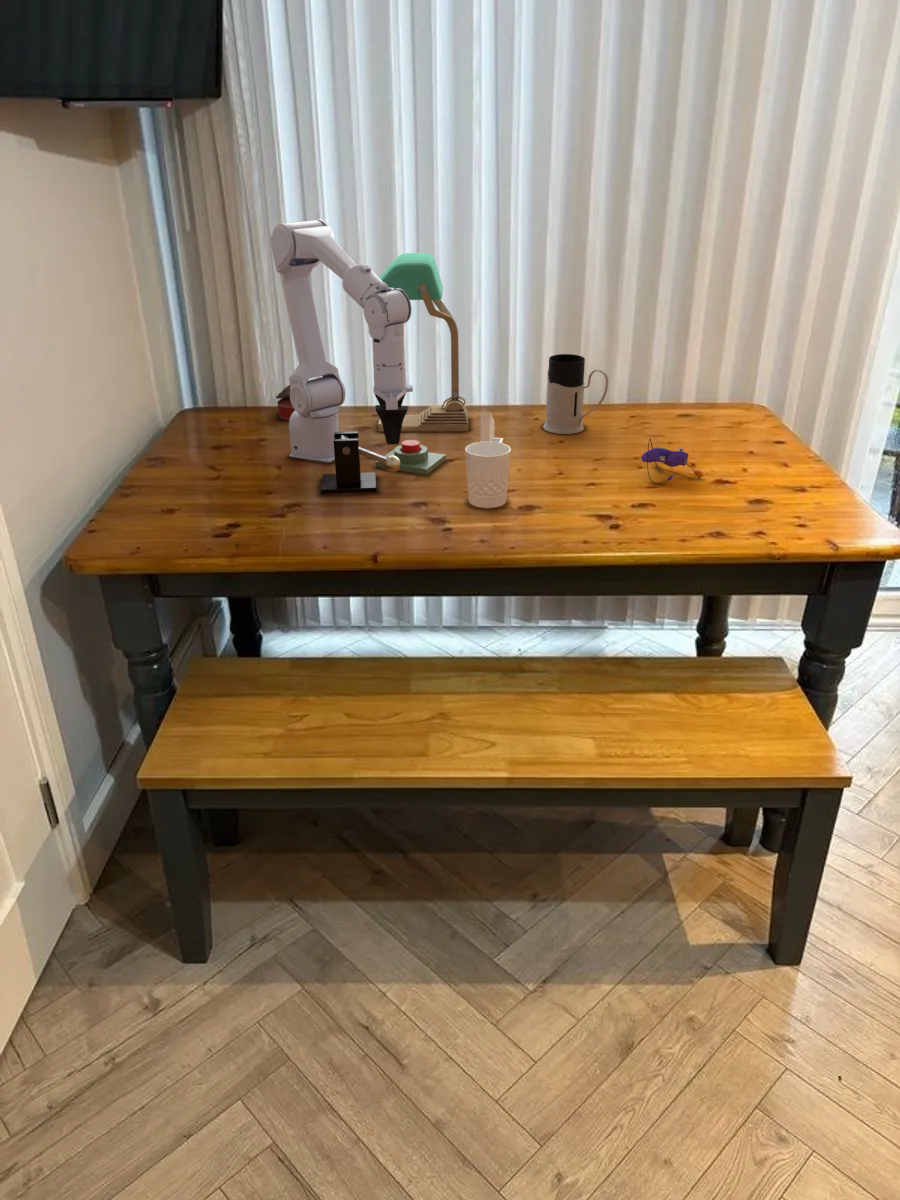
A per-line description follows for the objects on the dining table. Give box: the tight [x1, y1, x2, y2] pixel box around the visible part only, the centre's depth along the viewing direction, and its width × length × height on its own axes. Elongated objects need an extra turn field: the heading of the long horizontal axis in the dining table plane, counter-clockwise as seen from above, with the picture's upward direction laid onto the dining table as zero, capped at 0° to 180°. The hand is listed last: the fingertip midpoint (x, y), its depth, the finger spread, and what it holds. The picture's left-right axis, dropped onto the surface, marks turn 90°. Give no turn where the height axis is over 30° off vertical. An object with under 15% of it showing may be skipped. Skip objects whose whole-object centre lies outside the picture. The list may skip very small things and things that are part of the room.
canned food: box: [275, 384, 295, 421], centre depth 215 cm, size 11×10×10 cm
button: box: [400, 439, 421, 453], centre depth 185 cm, size 4×4×2 cm
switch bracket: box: [320, 430, 377, 495], centre depth 174 cm, size 10×8×10 cm
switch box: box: [375, 444, 447, 475], centre depth 186 cm, size 11×9×3 cm
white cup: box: [464, 441, 512, 509], centre depth 167 cm, size 8×8×10 cm
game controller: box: [640, 438, 701, 485], centre depth 179 cm, size 10×8×10 cm
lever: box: [340, 435, 400, 473], centre depth 174 cm, size 12×3×3 cm, turn 93°
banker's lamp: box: [377, 252, 469, 433], centre depth 200 cm, size 16×21×35 cm
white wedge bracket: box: [479, 411, 504, 444], centre depth 187 cm, size 4×10×9 cm
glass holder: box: [542, 353, 609, 435], centre depth 201 cm, size 9×14×15 cm, turn 54°
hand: (392, 436), depth 173 cm, fingers open, 7 cm apart
